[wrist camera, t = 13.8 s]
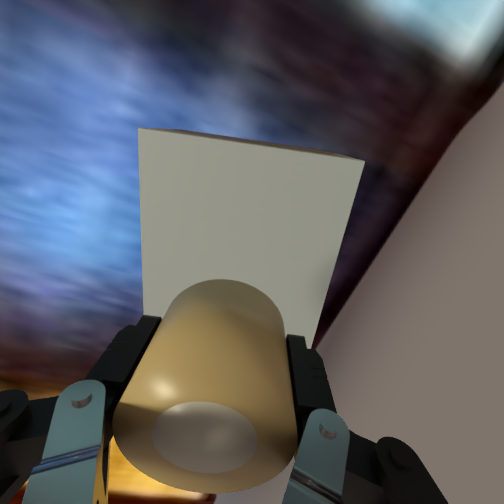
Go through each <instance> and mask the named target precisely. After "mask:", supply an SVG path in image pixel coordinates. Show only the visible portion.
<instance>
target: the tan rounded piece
mask: <svg viewBox="0 0 504 504" xmlns="http://www.w3.org/2000/svg"><path fill="white" fill-rule="evenodd" d="M112 429H113V435H114V438H115V441H116V444H117V445H118V447H119V449H120V451H121V452H122V454H123V455H124V456H125V457H126V459H127V460H128V461H129V462H130V463H131V464H132V465H133V466H135V467H136V468H137V469H138V470H140V471H141V472H143V473H144V474H146V475H147V476H149V477H151V478H153V479H155V480H157V481H159V482H161V483H163V484H166V485H169V486H172V487H175V488H178V489H182V490H187V491H192V492H199V493H230V492H237V491H242V490H246V489H250V488H253V487H255V486H258V485H261V484H263V483H265V482H267V481H269V480H271V479H272V478H274V477H275V476H277V475H278V474H279V473H280V472H282V471H283V470H284V468H285V467H286V466H287V465H288V464H289V462H290V461H291V459H292V457H293V456H294V453H295V451H296V447H297V439H298V434H297V426H296V418H295V409H294V401H293V393H292V385H291V377H290V369H289V361H288V353H287V345H286V337H285V328H284V322H283V319H282V316H281V313H280V311H279V309H278V308H277V306H276V305H275V304H274V302H273V301H272V300H271V299H270V298H269V297H268V296H267V295H266V294H264V293H263V292H262V291H260V290H258V289H257V288H255V287H253V286H251V285H249V284H246V283H243V282H240V281H235V280H228V279H213V280H207V281H203V282H199V283H197V284H194V285H192V286H190V287H188V288H187V289H185V290H183V291H182V292H181V293H180V294H178V295H177V297H176V298H175V299H174V300H173V301H172V303H171V304H170V306H169V308H168V310H167V312H166V314H165V315H164V317H163V319H162V321H161V323H160V325H159V327H158V329H157V331H156V332H155V334H154V336H153V338H152V340H151V342H150V344H149V346H148V348H147V349H146V351H145V353H144V355H143V357H142V359H141V361H140V363H139V365H138V367H137V368H136V370H135V372H134V374H133V376H132V378H131V380H130V382H129V384H128V385H127V387H126V389H125V391H124V393H123V395H122V397H121V399H120V401H119V402H118V404H117V407H116V409H115V411H114V415H113V420H112Z"/></svg>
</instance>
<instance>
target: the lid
mask: <svg viewBox="0 0 504 504" xmlns="http://www.w3.org/2000/svg"><path fill="white" fill-rule="evenodd" d="M138 148H139V180H140V211H141V243H142V275H143V307H144V315H151V316H158V317H161V318H162V319H163V317H164V315H165V314H166V312H167V310H168V308H169V306H170V304H171V303H172V301H173V300H174V299H175V298H176V297H177V295H178V294H180V293H181V292H182V291H183V290H185V289H187V288H188V287H190V286H192V285H194V284H197V283H199V282H203V281H207V280H213V279H228V280H235V281H240V282H243V283H246V284H249V285H251V286H253V287H255V288H257V289H258V290H260V291H262V292H263V293H264V294H266V295H267V296H268V297H269V298H270V299H271V300H272V301H273V302H274V304H275V305H276V306H277V308H278V309H279V311H280V313H281V316H282V319H283V322H284V328H285V337H286V336H287V334H293V335H300V336H304V337H305V341H306V345H307V348H308V349H311V346H312V342H313V339H314V335H315V332H316V328H317V325H318V321H319V318H320V315H321V311H322V308H323V304H324V301H325V297H326V294H327V291H328V287H329V284H330V280H331V277H332V273H333V270H334V267H335V263H336V260H337V256H338V253H339V249H340V246H341V242H342V239H343V236H344V232H345V229H346V225H347V222H348V218H349V215H350V212H351V208H352V205H353V201H354V198H355V194H356V191H357V188H358V184H359V181H360V177H361V174H362V170H363V167H364V163H365V161H363V160H359V159H352V158H345V157H339V156H332V155H325V154H318V153H312V152H305V151H298V150H291V149H284V148H278V147H271V146H264V145H257V144H250V143H244V142H237V141H230V140H223V139H217V138H210V137H203V136H196V135H189V134H183V133H176V132H169V131H162V130H155V129H149V128H138Z"/></svg>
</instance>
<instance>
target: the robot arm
mask: <svg viewBox="0 0 504 504" xmlns="http://www.w3.org/2000/svg"><path fill="white" fill-rule="evenodd" d="M161 321H162V318H161V317H158V316H151V315H143V316H142V317H141V319H140V321H139V322H138V324H137V325H136V326H134V325H128V326H127V327H125V328H124V329H122V330H121V331H119V332H118V333H117V335H116V336H115V338H114V339H113V340H112V343H110V344H109V346H108V347H107V349H106V351H104V353H103V354H102V356H101V357H100V358H99V360H98V361H97V363H96V364H95V365H94V367H93V368H92V369H91V371H90V372H89V374H88V375H87V376H86V378H85V379H84V380H83V381H79V382H76V383H74V384H72V385H71V386H69V387H68V388H66V389H65V390H64V391H63V392H62V393H61V394H60V395H59V396H55V397H50V398H43V399H37V400H30V401H29V400H28V396H27V394H26V393H25V392H24V391H21V390H15V389H12V390H5V391H1V392H0V504H7V503H8V502H9V501H10V500H11V499H12V497H13V496H14V495H15V494H16V493H17V492H18V490H19V489H20V488H21V487H22V486H23V485H24V483H25V482H26V481H27V480H28V479H29V480H28V484H27V488H26V491H25V495H24V498H23V502H22V504H107V499H108V482H109V464H110V447H111V443H110V441H111V439H112V437H113V429H112V420H113V415H114V411H115V409H116V407H117V404H118V402H119V401H120V399H121V397H122V395H123V393H124V391H125V389H126V387H127V385H128V384H129V382H130V380H131V378H132V376H133V374H134V372H135V370H136V368H137V367H138V365H139V363H140V361H141V359H142V357H143V355H144V353H145V351H146V349H147V348H148V346H149V344H150V342H151V340H152V338H153V336H154V334H155V332H156V331H157V329H158V327H159V325H160V323H161ZM286 345H287V353H288V361H289V369H290V377H291V385H292V393H293V401H294V409H295V418H296V426H297V434H298V439H297V447H296V451H295V453H294V459H295V462H294V465H293V469H292V472H291V475H290V478H289V482H288V485H287V488H286V491H285V494H284V498H283V501H282V504H448V502H447V500H446V499H445V498H444V496H443V494H442V493H441V491H440V490H439V488H438V487H437V485H436V483H435V482H434V480H433V479H432V477H431V476H430V474H429V472H428V471H427V469H426V468H425V466H424V465H423V463H422V462H421V460H420V459H419V457H418V455H417V454H416V453H415V452H414V451H413V449H411V448H410V447H409V446H408V445H407V444H405V443H404V442H402V441H401V440H399V439H396V438H393V437H383V438H381V439H380V440H379V441H378V442H377V443H374V442H372V441H370V440H368V439H365V438H363V437H361V436H359V435H357V434H355V433H353V432H352V431H350V430H349V429H348V426H347V424H346V423H345V421H344V420H343V419H342V418H341V417H340V416H339V415H338V414H337V412H336V408H335V404H334V401H333V397H332V393H331V389H330V386H329V383H328V380H327V375H326V371H325V367H324V364H323V360H322V358H321V357H320V355H319V354H318V353H317V351H316V350H315V349H308V348H307V345H306V341H305V337H304V336H300V335H293V334H287V336H286Z"/></svg>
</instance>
